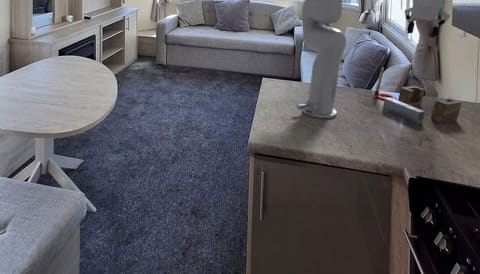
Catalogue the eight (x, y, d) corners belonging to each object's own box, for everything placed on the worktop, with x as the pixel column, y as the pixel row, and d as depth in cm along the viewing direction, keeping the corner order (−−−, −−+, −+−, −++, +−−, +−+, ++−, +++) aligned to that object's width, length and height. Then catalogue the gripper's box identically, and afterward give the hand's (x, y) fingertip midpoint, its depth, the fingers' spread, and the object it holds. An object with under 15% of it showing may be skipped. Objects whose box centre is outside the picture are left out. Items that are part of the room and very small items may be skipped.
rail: (421, 124, 144) (424, 111, 142) (415, 125, 143) (419, 112, 141) (387, 109, 158) (390, 97, 156) (382, 110, 156) (384, 98, 154)
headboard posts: (456, 121, 148) (462, 102, 145) (441, 123, 145) (447, 104, 142) (410, 102, 166) (415, 85, 163) (397, 104, 163) (400, 87, 160)
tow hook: (396, 98, 173) (375, 93, 176) (404, 69, 167) (382, 65, 171) (394, 103, 166) (372, 98, 169) (402, 74, 160) (379, 69, 164)
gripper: (405, -14, 150) (396, 32, 157) (451, -10, 138) (439, 39, 145) (415, -14, 154) (405, 31, 161) (460, -10, 143) (448, 37, 150)
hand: (421, 34), depth 153 cm, fingers open, 9 cm apart
